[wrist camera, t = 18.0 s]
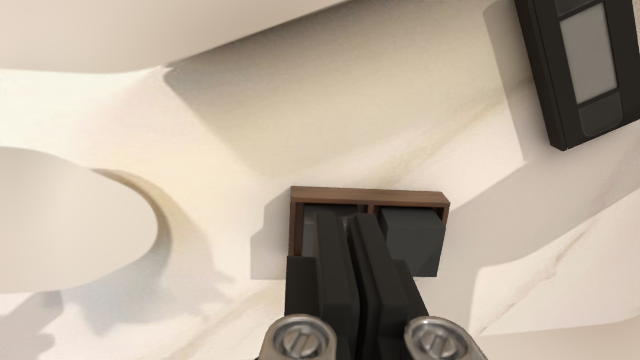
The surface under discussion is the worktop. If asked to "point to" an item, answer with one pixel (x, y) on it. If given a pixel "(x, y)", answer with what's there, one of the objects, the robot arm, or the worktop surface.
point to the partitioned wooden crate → (349, 208)
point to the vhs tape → (583, 66)
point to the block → (413, 237)
